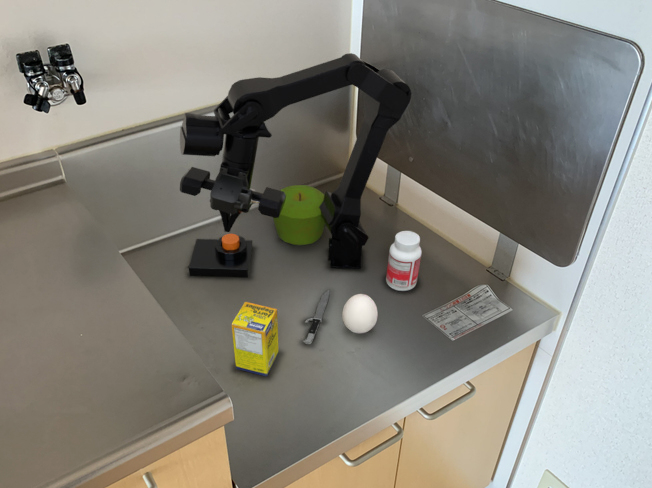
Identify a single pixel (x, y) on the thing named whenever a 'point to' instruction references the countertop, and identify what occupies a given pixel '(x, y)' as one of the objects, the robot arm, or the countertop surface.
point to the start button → (230, 242)
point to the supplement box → (255, 338)
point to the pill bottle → (404, 261)
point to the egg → (360, 313)
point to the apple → (300, 215)
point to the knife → (317, 318)
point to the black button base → (220, 259)
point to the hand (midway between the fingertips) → (227, 231)
